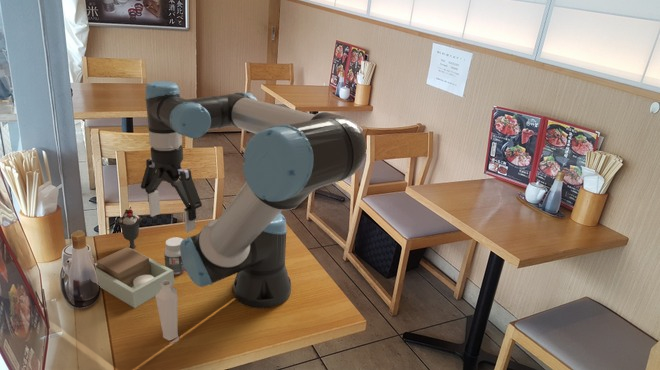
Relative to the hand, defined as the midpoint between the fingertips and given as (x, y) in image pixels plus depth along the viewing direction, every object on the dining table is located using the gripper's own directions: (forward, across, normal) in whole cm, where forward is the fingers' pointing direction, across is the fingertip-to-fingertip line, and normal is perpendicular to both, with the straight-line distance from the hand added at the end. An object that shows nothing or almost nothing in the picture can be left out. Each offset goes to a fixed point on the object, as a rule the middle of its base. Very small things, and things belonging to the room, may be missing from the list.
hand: (172, 222), depth 122 cm
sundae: (+16, +19, 0) cm, 25 cm away
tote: (+16, +4, +11) cm, 20 cm away
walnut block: (+15, +7, +11) cm, 20 cm away
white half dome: (+15, -1, +11) cm, 18 cm away
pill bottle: (+16, 0, 0) cm, 16 cm away
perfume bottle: (+16, -19, +18) cm, 31 cm away
